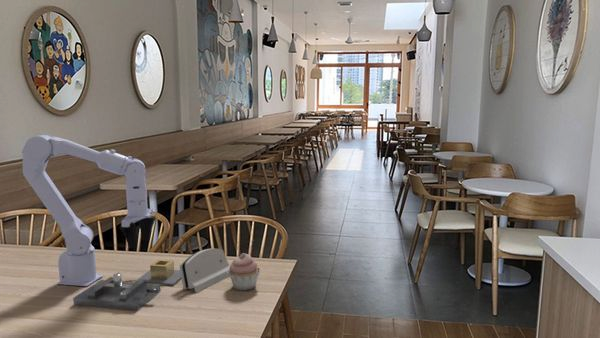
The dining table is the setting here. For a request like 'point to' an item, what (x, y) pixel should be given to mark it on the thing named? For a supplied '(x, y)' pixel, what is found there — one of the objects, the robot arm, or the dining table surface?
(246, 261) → the cupcake
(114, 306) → the vise
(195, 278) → the hinge
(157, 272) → the collar
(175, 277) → the mat
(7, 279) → the dining table surface
